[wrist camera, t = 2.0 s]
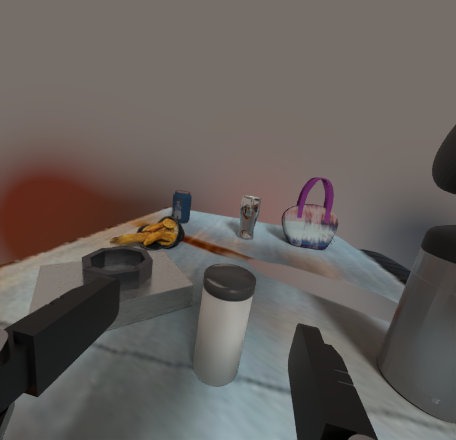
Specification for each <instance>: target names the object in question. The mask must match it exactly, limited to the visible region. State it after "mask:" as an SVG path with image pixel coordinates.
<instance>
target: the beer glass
mask: <svg viewBox="0 0 456 440" xmlns="http://www.w3.org/2000/svg"><path fill="white" fill-rule="evenodd" d="M260 206H261V198H260V197H255V196H250V195H243V198H242V202H241V208H240V227H239V231H238V233H237V237H239V238H241V239H245V240H252V239H253V237H254V227H255V224H256V221H257V218H258V216H259V212H260Z"/></svg>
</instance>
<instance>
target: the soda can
mask: <svg viewBox="0 0 456 440" xmlns="http://www.w3.org/2000/svg"><path fill="white" fill-rule="evenodd" d="M190 207H191V195H190V192H187V191H176V192H175V194H174V196H173V207H172V217H174V218H175V219H176V220H177V221H178V222H179V223H187V222H188V220H189V217H190Z"/></svg>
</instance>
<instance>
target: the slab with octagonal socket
mask: <svg viewBox="0 0 456 440" xmlns="http://www.w3.org/2000/svg"><path fill="white" fill-rule="evenodd" d="M100 276H106V277H110V278H114V279H118V280H119V281H120V304H119V313H118V315H117V318H116V319H115V321H114V322H113V324H112V325H111V326H110V327H109V328H108V329H107V330H106V331H108V330H111V329H115V328H118V327H121V326H125V325H128V324H131V323H135V322H138V321H142V320H145V319H148V318H152V317H155V316H159V315H162V314H165V313H169V312H172V311H176V310H179V309H182V308H186V307H189V306H191V302H192V294H193V286H194V285H193V284H192V283H191V281H190V280H189V279H188V278H187V277H186V276H185V275H184V273H183V272H182V271H181V270H180V269H179V268H178V267H177V265H176V264H175V263H174V262H173V261H172V260H171V259H170V257H169V256H168V255H167V254H166V253H165V252H156V253H148V252H147V251H146V250H142V249H137V248H132V247H128V246H123V247H112V248H101V249H99V250H97V251H95V252H92V253H90V254H88V255H86V256H84V257H82V261H78V262H69V263H60V264H51V265H43V266H40V270H39V274H38V278H37V282H36V286H35V290H34V294H33V298H32V302H31V306H30V310H29V314H31V313H32V312H34V311H36V310H38V309H39V308H41V307H43V306H44V305H46V304H49V303H50V302H51V301H53V300H54V299H56V298H59V297H60V296H61V295H63V294H64V293H66V292H68V291H70V290H71V289H74V288H76V287H79V286H82V285H85V284H88V283H90V282H92V281H93V280H95V279H96V278H98V277H100ZM29 314H28V315H29Z"/></svg>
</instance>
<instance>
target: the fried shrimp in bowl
mask: <svg viewBox="0 0 456 440" xmlns="http://www.w3.org/2000/svg"><path fill="white" fill-rule="evenodd" d="M184 235H185V234H184V230H183V228H182V226H181V224H180V223H179V222H178V221H177V220H176V219H175V218H174V217H172V216H166V217H163V218H162V219H161V220H160V221H159V222H158V223H157V224H151V225H144V226H142V227H140V228H139V229H138V231H137V233H136V234H128V235H122V236H120V237H114V238H112V239H111V240H110V244H116V245H117V244H119V245H121V244H129V243H132V242H139V243H140V245H141V246H143V247H144V248H146V249H149V250H158V249H160V248H164V249H166V248H169V247H171V246H174V245H176V244H177V243H178V242H180V241H181V240H182V239H183V238H184Z"/></svg>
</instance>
